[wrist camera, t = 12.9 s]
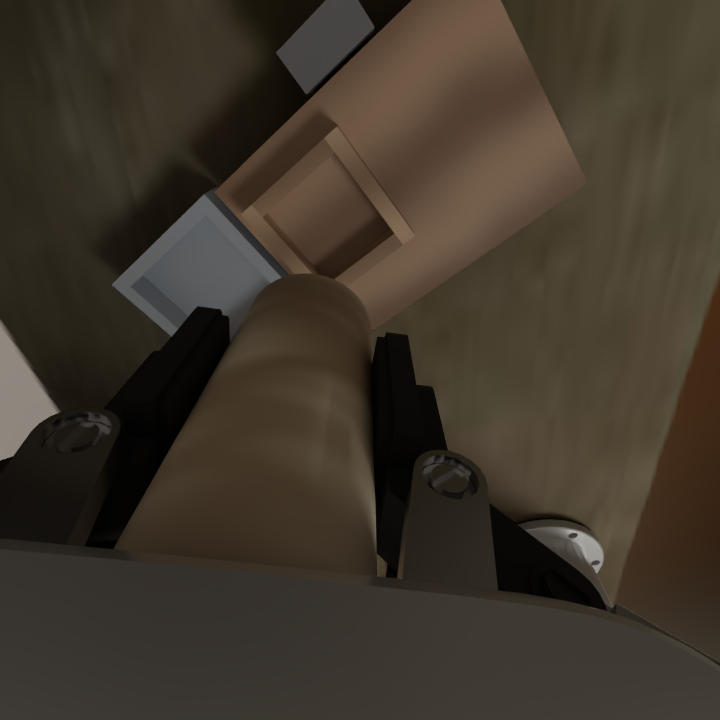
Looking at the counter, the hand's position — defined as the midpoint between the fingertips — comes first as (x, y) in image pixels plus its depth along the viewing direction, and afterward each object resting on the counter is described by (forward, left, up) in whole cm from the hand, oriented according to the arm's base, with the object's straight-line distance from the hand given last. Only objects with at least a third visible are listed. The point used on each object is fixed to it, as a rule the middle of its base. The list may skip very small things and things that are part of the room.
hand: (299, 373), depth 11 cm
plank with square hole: (-1, -4, -18) cm, 19 cm away
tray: (+1, +9, -18) cm, 20 cm away
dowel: (0, 0, -2) cm, 2 cm away
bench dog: (+7, -5, -18) cm, 20 cm away
